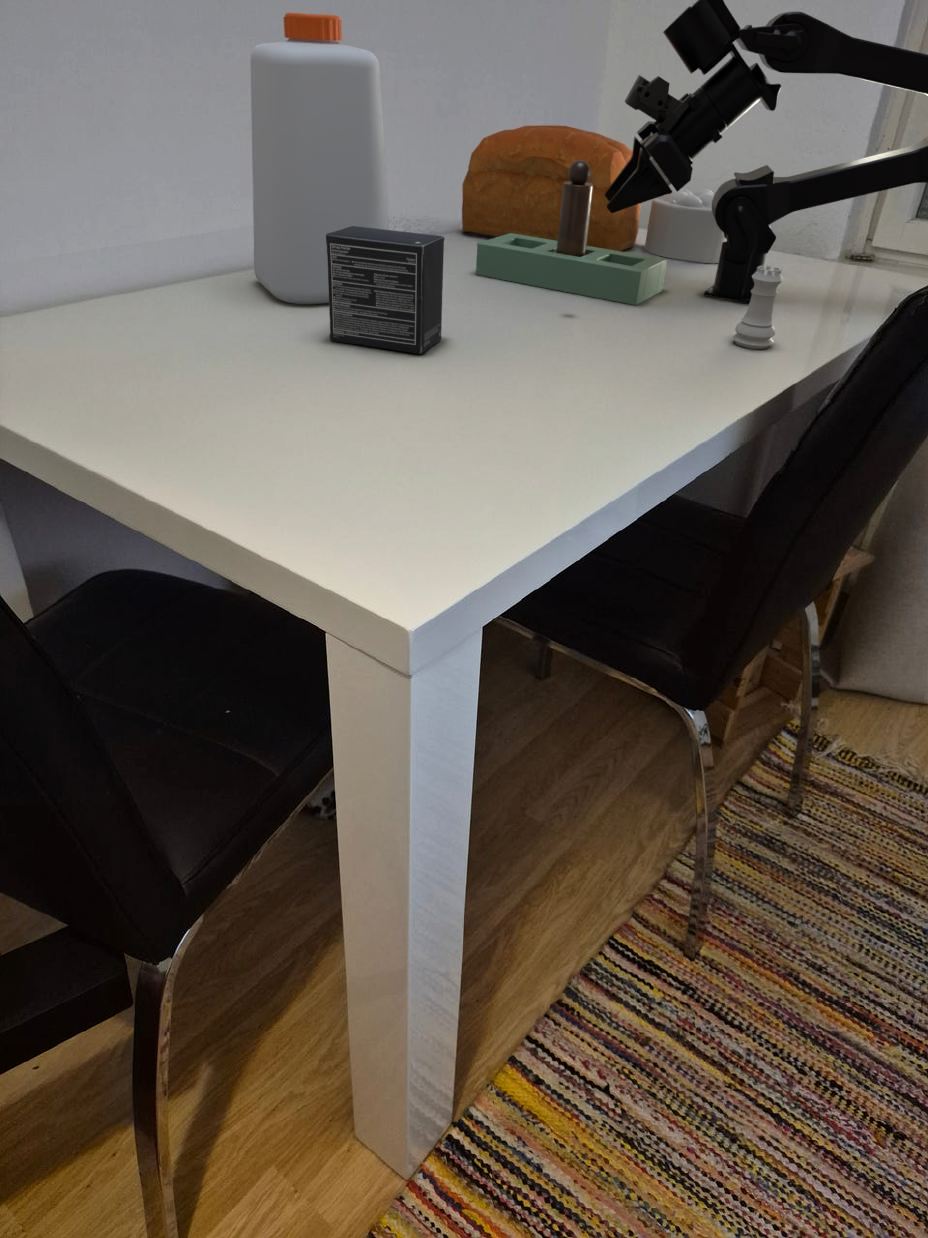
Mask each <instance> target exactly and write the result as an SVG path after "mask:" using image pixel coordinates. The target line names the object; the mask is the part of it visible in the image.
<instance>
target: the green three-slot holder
mask: <svg viewBox="0 0 928 1238" xmlns="http://www.w3.org/2000/svg"><path fill="white" fill-rule="evenodd" d="M476 244H477V245H476V247H477V248H476V261H475V263H476V264H475V275H477V276H481V277H486V278H490V279H491V278H492V279H497V280H502V281H507V282H513V283H519V284H522V285H528V286H533V287H539V288H544V289H548V290H549V289H550V290H555V291H559V292H565V293H570V294H574V295H579V296H586V297H591V298H596V299H601V300H606V301H612V302H615V303H616V302H617V303H622V304H627V305H632V306H637V305H640V304H641V303H643V302H644V301H646V300H649V299H650V298H652V297H654V296H656V295H658V294H660V293H661V292H663V287H664V283H665V276H666V270H667V264H668V258H663V257H656V256H651V255H645V254H638V253H633V252H626V251H615V250H609V249H603V248H597V247H591V246H586V252H585V256H582V257H577V256H571V255H565V254H559V253H556V250H557V241H555V240H549V239H543V238H537V237H531V236H525V235H519V234H513V233H509V234H506V235H503V236H499V237H494V238H490V239H487V240H483V241H480V242H477V243H476Z"/></svg>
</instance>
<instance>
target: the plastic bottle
mask: <svg viewBox="0 0 928 1238" xmlns="http://www.w3.org/2000/svg"><path fill="white" fill-rule="evenodd" d="M283 28H284V29H283V30H284V32H283V33H284V38H285V39H287V40H283V41H276V42H266V43H265V42H264V43H260V44H257V45H255V46H254V47H253V48H252V50H251V52H250V107H251V109H250V110H251V161H252V164H251V165H252V216H253V217H252V219H253V220H252V221H253V225H252V226H253V268H254V269H253V271H254V276H255V278H256V280H257V281H258V282H259V283H260V284H261V285H262V286H264V288H265V289H267V291H268V292H270V294H272V295H273V296H274V297H275V298H276V299H278V300H279V301H282V302H284V303H288V304H289V303H290V304H296V305H319V304H329V285H328V257H327V245H326V234H327V233H331V232H334V231H338V230H341V229H345V228H348V227H351V226H357V227H366V228H375V229H384V230H391V226H390V210H389V209H390V208H389V193H388V192H389V191H388V179H387V165H386V163H387V162H386V147H385V133H384V132H385V131H384V116H383V102H382V83H381V69H380V61H379V60H378V58H377V57H376V55H375V54H374V53H373V52H372V51H369V50H368V49H367V50H366V49H363V48H359V47H355V46H353V45H352V46H351V45H347V44H343V43H340V41H343V35H342V33H343V32H342V30H343V29H342V28H343V27H342V20H341V17H340V16H339V15H336V14H321V13H320V14H318V13H301V12H286V13H285V14H284V16H283Z"/></svg>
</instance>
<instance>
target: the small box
mask: <svg viewBox="0 0 928 1238" xmlns="http://www.w3.org/2000/svg"><path fill="white" fill-rule="evenodd" d="M326 245H327V257H328V285H329V303H328V305H329V308H328V309H329V310H328V311H329V340H330V341H332V342H335V343H336V342H337V343H344V344H350V345H357V346H364V347H372V348H376V349H377V348H378V349H384V350H392V351H398V352H405V353H411V354H416V355H417V354H418V355H421V354H423V353H425V352H426V351H427V350H428V349H429V348H431V347H432V346H434V345H435V344H436V343H438V342H439V341H440V340H441V339H442V324H443V322H442V321H443V285H444V282H443V281H444V252H445V251H444V250H445V236H444V235H437V234H427V233H419V232H410V231H402V230H401V231H400V230H393V229H392V230H391V229H390V230H384V229H375V228H366V227H357V226H351V227H348V228H345V229H341V230H338V231H334V232H331V233H327V234H326Z"/></svg>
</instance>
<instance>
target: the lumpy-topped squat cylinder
mask: <svg viewBox="0 0 928 1238" xmlns="http://www.w3.org/2000/svg"><path fill="white" fill-rule="evenodd" d="M672 191H673V193H671V194H666V195H663V196H660V197H657V198H654V199H651V205H650V212H649V217H648V224H647V231H646V236H645V243H644V250H645V251H647V252H648V253H651V254H654V255H655V256H660V257H662V258H663V257H664V258H666V259H674V260H680V261H687V262H693V263H702V264H718V263H719V258H720V253H721V248H722V243H723V242H725V241H727V240H726V238H725V237H724V232H723V231H721V230H720V228H719V227H718V225H717V223H716V221H715V219H714V216H713V213H712V200H713V197H714V194H715V193H716V192H713V191H712V190H711V189H707V188H703V189H699V190H696V191H694V192H693V193H692V192H691V190H689V189H688V188H683V187H682V188H681V189H680V190H679V191H678V192H677V191H676V190H675V189H674V190H672Z"/></svg>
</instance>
